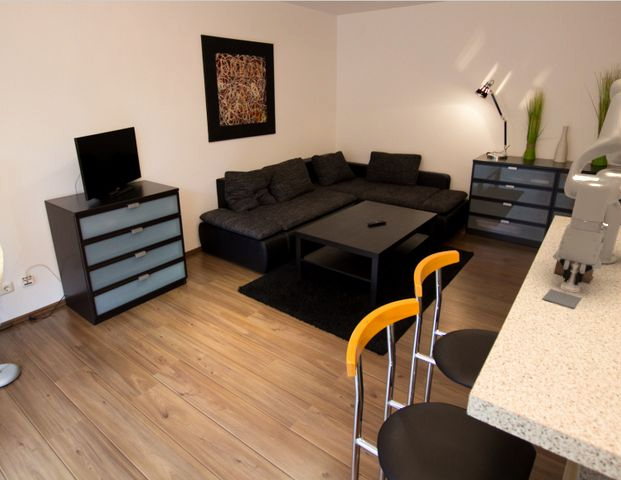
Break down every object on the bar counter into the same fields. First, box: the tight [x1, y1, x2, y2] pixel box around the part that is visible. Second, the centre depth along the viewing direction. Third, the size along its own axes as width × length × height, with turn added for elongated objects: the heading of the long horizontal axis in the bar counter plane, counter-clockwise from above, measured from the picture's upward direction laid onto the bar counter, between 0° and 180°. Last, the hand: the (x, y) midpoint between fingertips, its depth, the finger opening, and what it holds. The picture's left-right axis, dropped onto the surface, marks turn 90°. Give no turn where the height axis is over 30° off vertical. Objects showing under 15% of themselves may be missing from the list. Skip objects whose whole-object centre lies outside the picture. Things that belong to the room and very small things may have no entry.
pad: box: [541, 288, 582, 310], centre depth 117 cm, size 8×8×1 cm
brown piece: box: [553, 260, 595, 285], centre depth 129 cm, size 5×10×12 cm, turn 46°
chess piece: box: [560, 262, 581, 293], centre depth 122 cm, size 5×5×10 cm
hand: (571, 281), depth 123 cm, fingers closed on chess piece
